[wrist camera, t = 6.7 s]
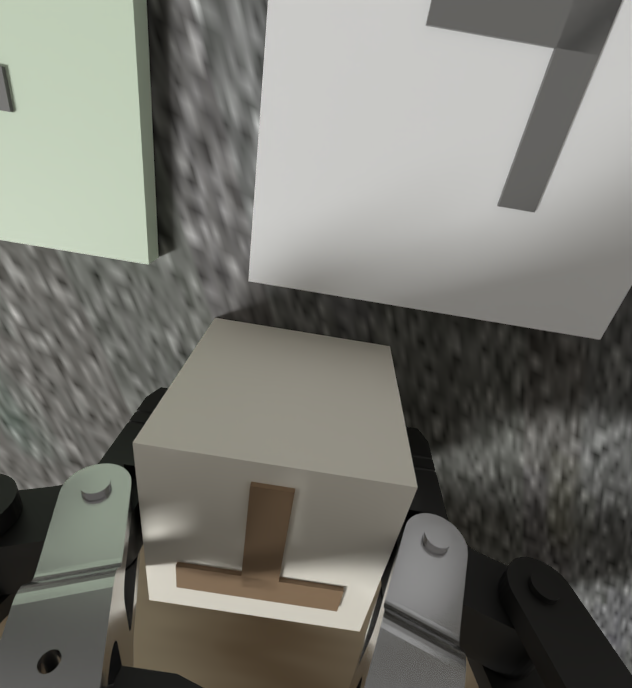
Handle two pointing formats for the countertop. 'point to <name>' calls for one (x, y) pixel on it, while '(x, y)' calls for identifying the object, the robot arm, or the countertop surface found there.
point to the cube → (275, 476)
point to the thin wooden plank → (243, 646)
